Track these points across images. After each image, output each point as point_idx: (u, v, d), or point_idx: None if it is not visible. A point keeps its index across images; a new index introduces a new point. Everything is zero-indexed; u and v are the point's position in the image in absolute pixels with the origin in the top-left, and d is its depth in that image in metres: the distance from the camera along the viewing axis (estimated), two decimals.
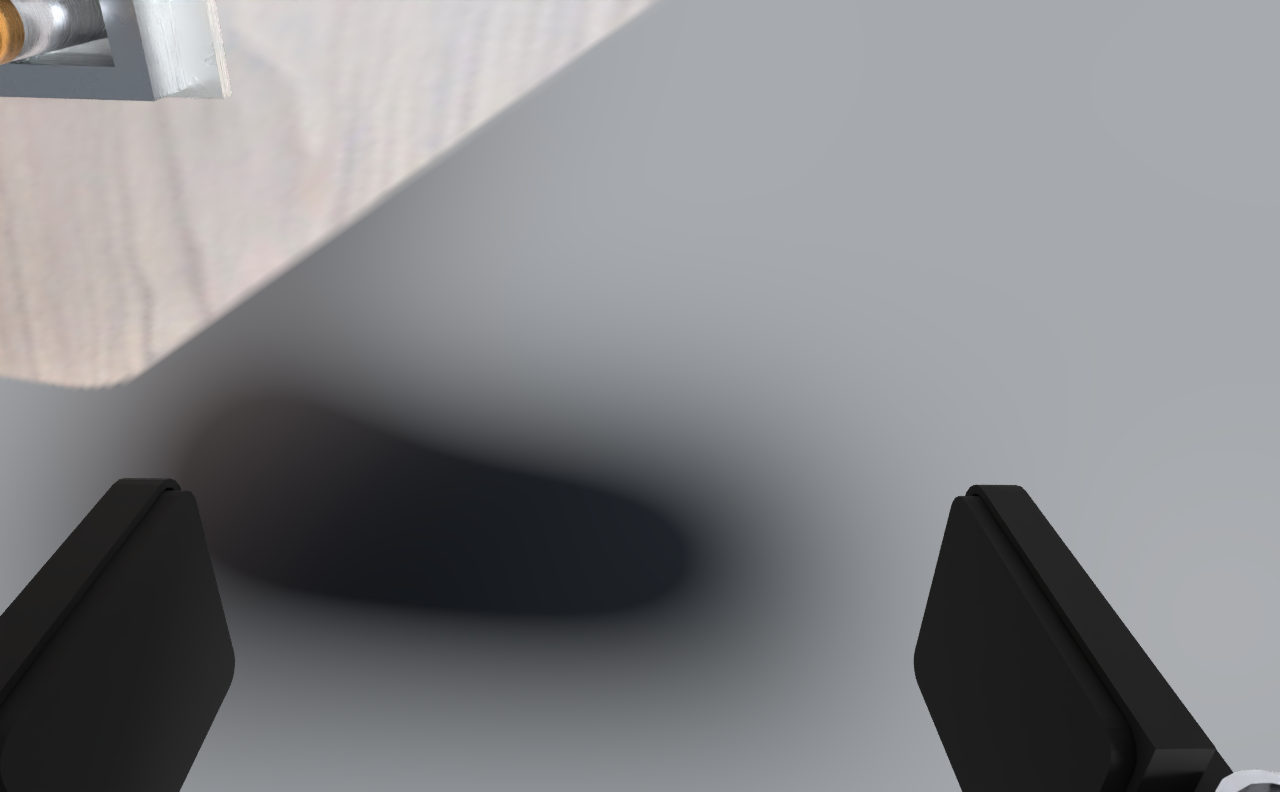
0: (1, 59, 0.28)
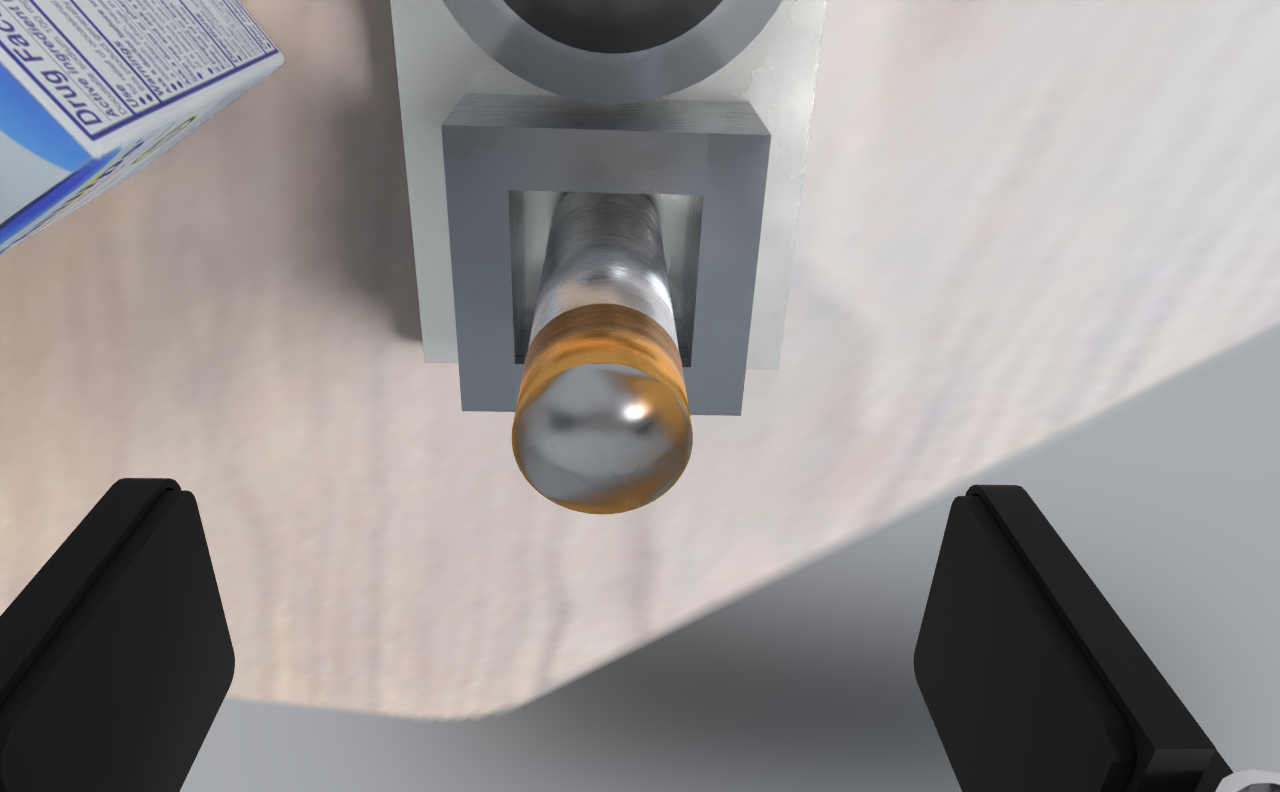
0: None
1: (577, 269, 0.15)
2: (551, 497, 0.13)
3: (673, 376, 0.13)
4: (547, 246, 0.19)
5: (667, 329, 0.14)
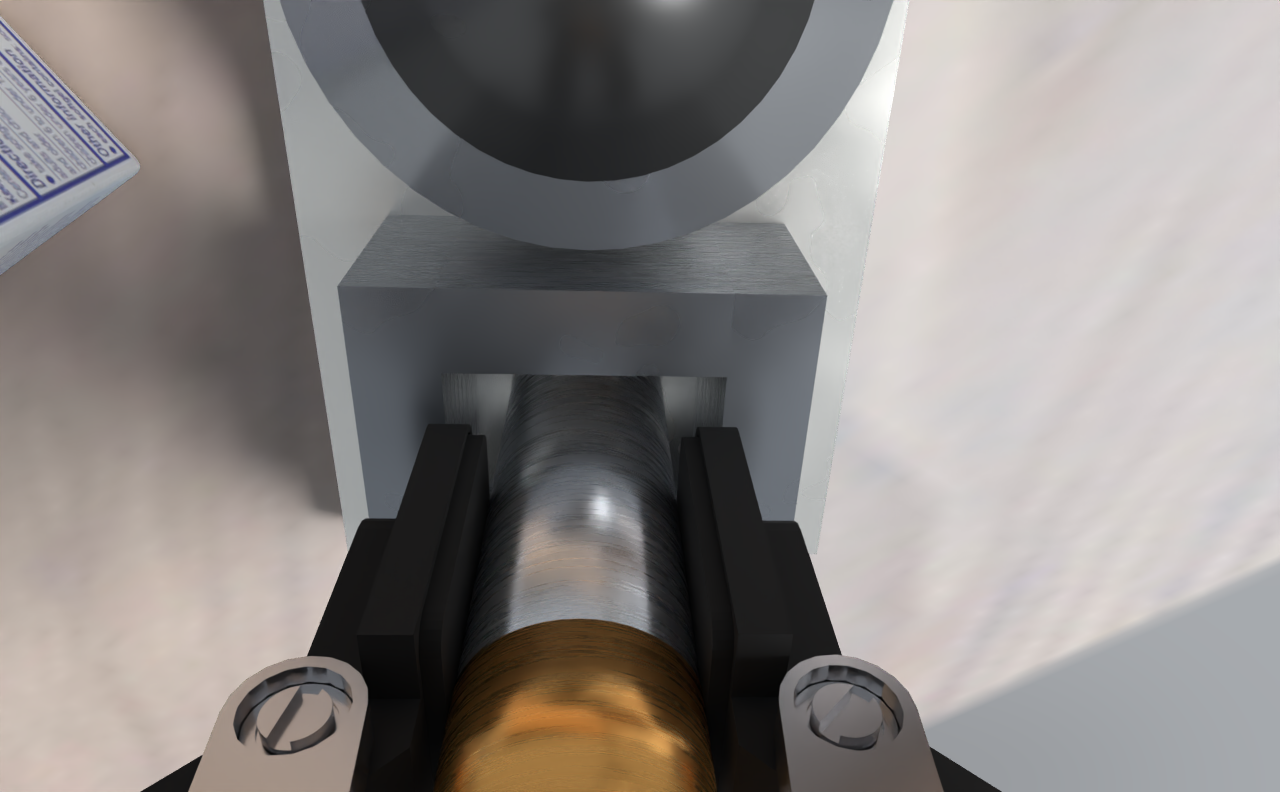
0: None
1: (539, 521, 0.10)
2: None
3: (695, 784, 0.07)
4: (503, 432, 0.13)
5: (680, 644, 0.09)
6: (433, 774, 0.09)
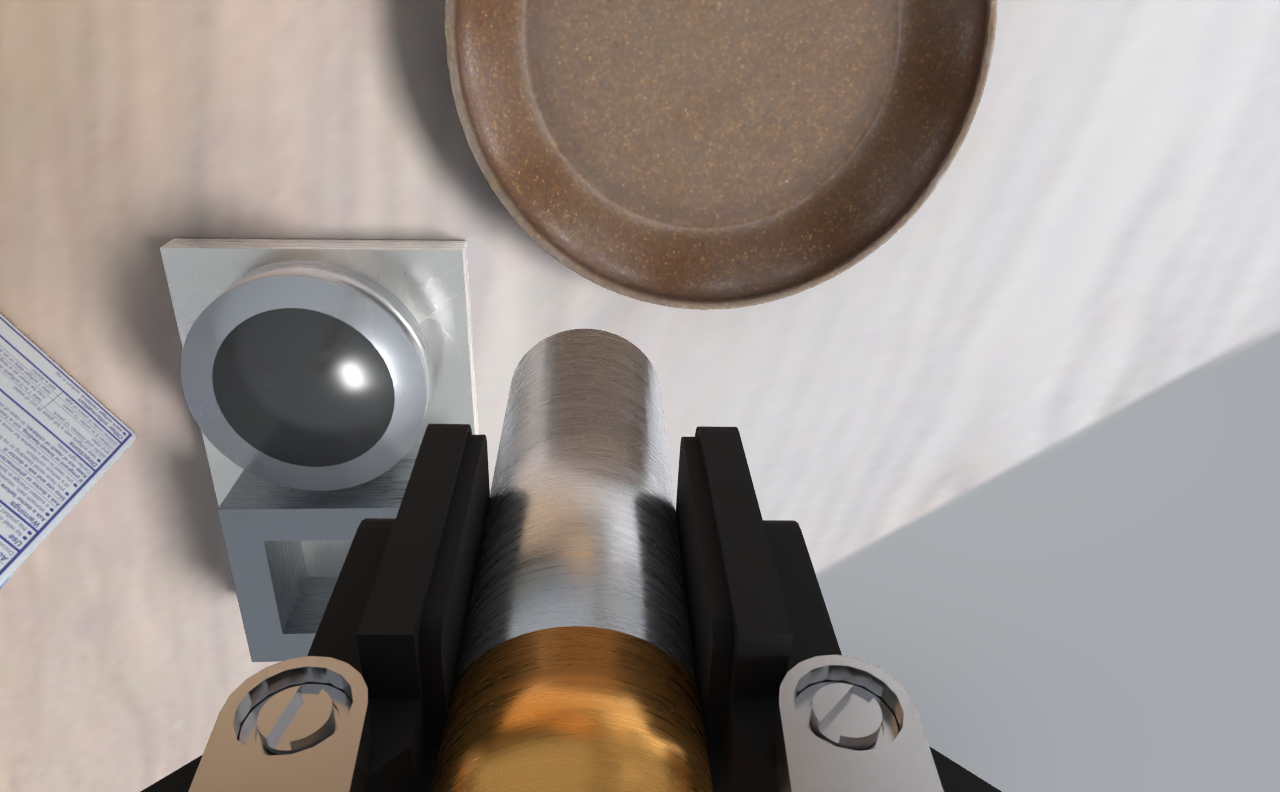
0: None
1: (536, 529, 0.10)
2: None
3: None
4: (501, 437, 0.13)
5: (678, 651, 0.09)
6: (433, 774, 0.09)
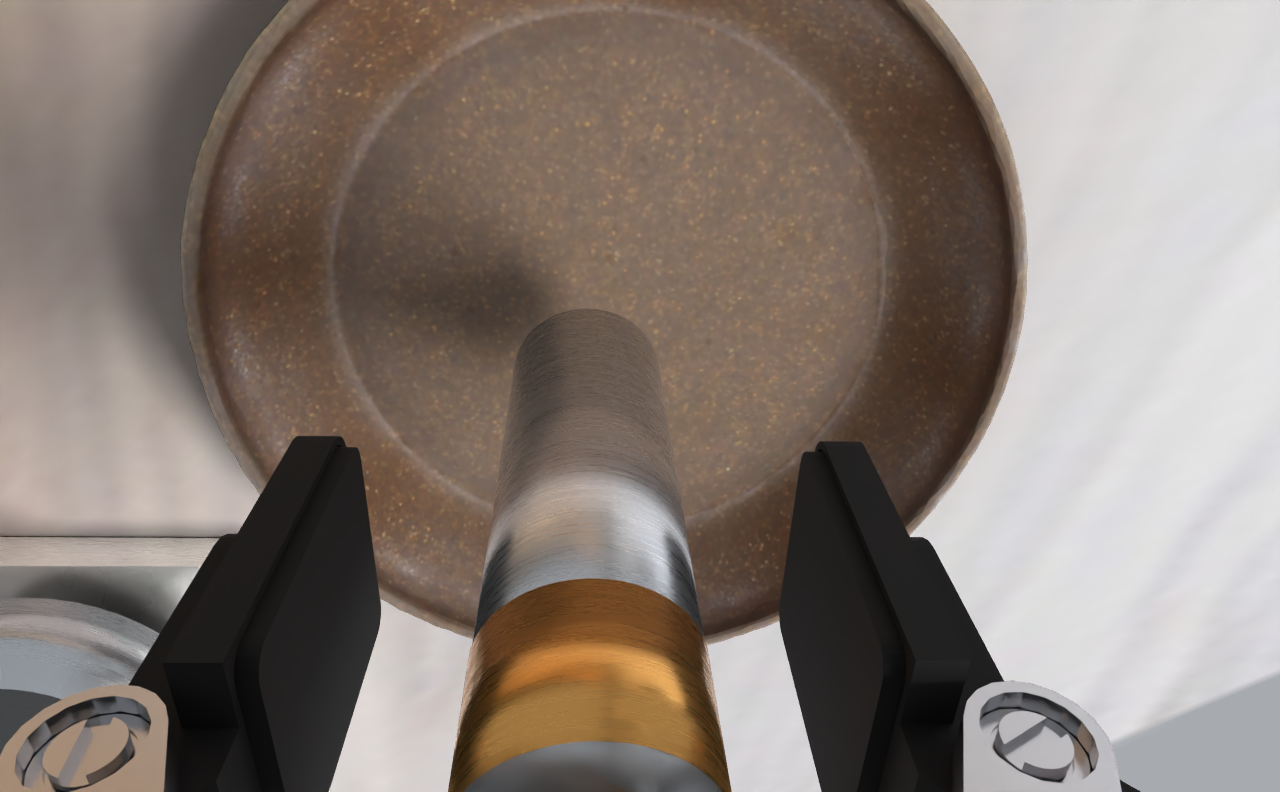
0: None
1: (547, 492, 0.11)
2: None
3: (702, 726, 0.08)
4: (508, 412, 0.14)
5: (685, 602, 0.09)
6: None
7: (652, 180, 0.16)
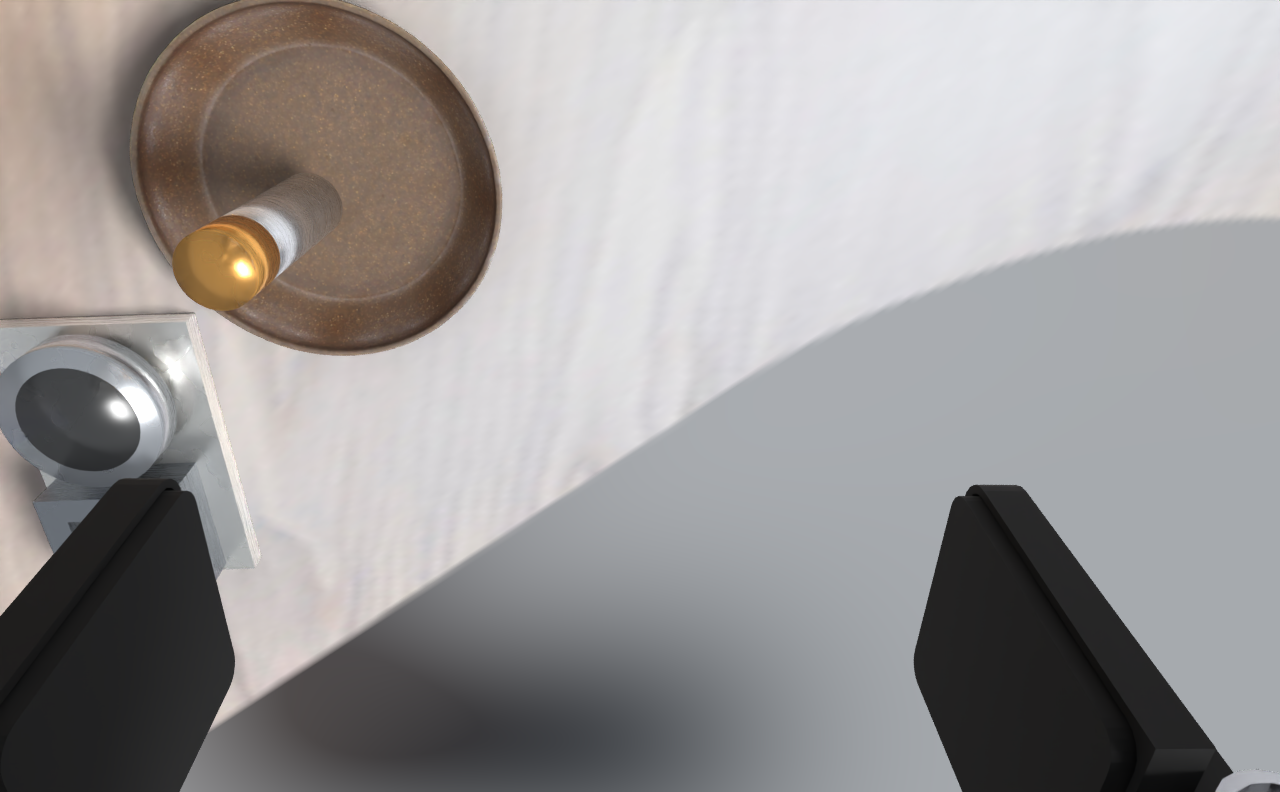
0: (264, 287, 0.29)
1: (236, 208, 0.31)
2: (203, 304, 0.29)
3: (244, 238, 0.28)
4: None
5: (265, 225, 0.30)
6: None
7: (339, 119, 0.37)
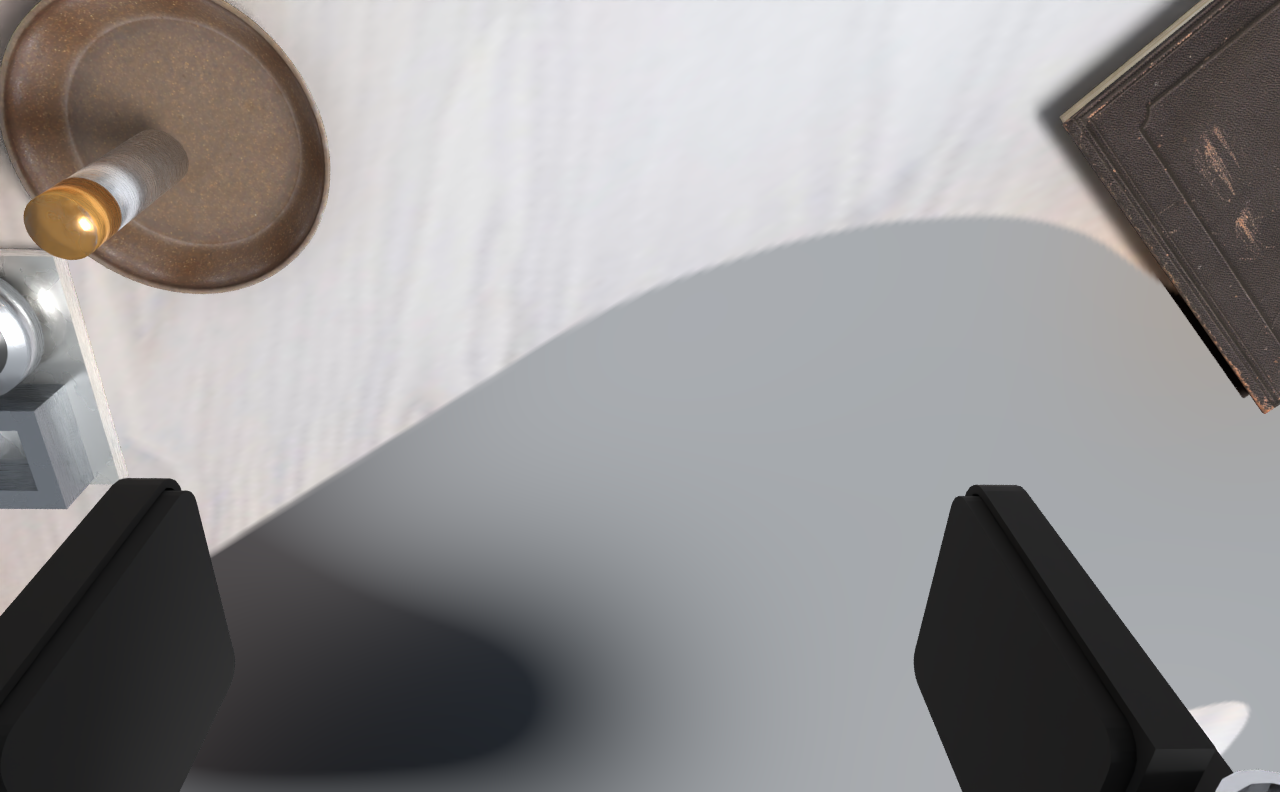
0: (108, 238, 0.35)
1: None
2: (55, 254, 0.34)
3: (83, 198, 0.34)
4: None
5: (104, 185, 0.35)
6: None
7: (189, 84, 0.42)
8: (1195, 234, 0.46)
